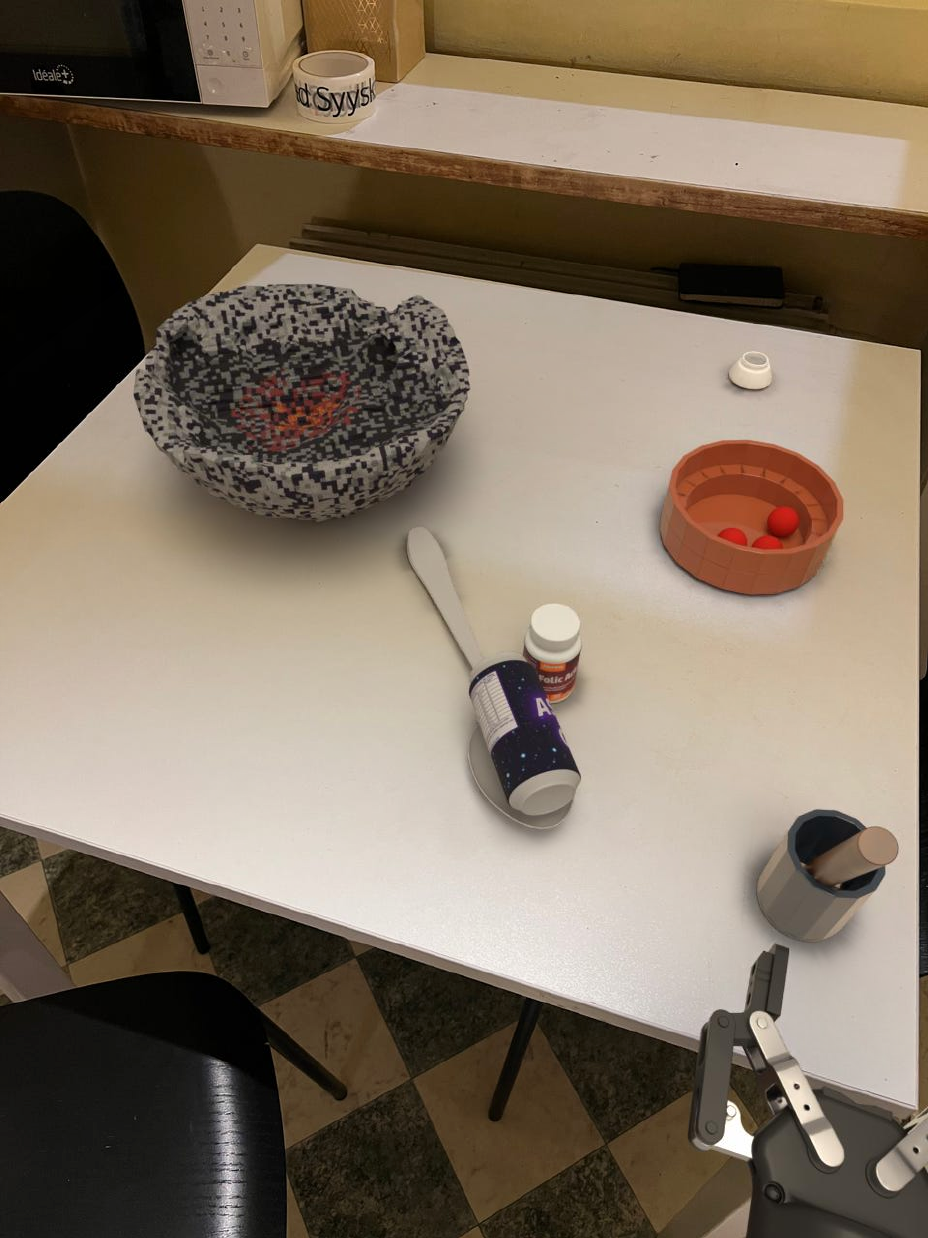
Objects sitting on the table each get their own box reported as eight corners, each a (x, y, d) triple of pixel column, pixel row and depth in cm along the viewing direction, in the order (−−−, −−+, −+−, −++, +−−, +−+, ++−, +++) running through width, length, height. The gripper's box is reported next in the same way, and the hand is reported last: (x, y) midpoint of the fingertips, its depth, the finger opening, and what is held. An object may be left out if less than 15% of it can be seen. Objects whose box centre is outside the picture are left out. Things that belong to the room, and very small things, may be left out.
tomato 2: (773, 564, 85) (787, 537, 84) (776, 575, 82) (791, 547, 81) (744, 554, 85) (757, 526, 84) (746, 564, 82) (760, 536, 81)
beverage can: (573, 768, 59) (518, 638, 67) (499, 803, 60) (453, 670, 68) (594, 797, 64) (540, 672, 71) (525, 829, 64) (479, 702, 72)
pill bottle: (536, 713, 73) (543, 652, 67) (511, 672, 76) (515, 610, 70) (584, 693, 75) (596, 632, 68) (558, 654, 77) (566, 592, 71)
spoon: (597, 827, 66) (601, 810, 64) (500, 858, 65) (502, 840, 63) (453, 538, 89) (453, 518, 87) (379, 554, 87) (377, 534, 85)
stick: (830, 878, 63) (914, 841, 45) (820, 904, 62) (901, 876, 44) (789, 859, 64) (855, 815, 46) (779, 885, 63) (842, 850, 45)
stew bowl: (824, 500, 91) (843, 455, 86) (822, 613, 81) (843, 569, 76) (669, 472, 93) (680, 427, 89) (648, 578, 83) (659, 533, 79)
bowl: (173, 608, 81) (125, 486, 69) (175, 409, 101) (138, 289, 89) (497, 559, 85) (503, 436, 74) (438, 377, 105) (435, 258, 93)
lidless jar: (753, 396, 102) (778, 381, 104) (759, 375, 100) (785, 359, 102) (719, 378, 105) (745, 362, 107) (725, 356, 102) (751, 341, 105)
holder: (844, 871, 64) (884, 821, 58) (844, 954, 60) (887, 910, 54) (759, 849, 65) (789, 798, 59) (753, 930, 61) (785, 884, 55)
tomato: (756, 545, 82) (728, 556, 82) (747, 556, 85) (719, 567, 85) (742, 518, 83) (714, 529, 83) (733, 530, 86) (706, 540, 85)
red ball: (768, 510, 84) (758, 534, 86) (797, 522, 83) (787, 546, 85) (778, 496, 86) (769, 520, 88) (807, 508, 85) (797, 532, 87)
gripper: (1070, 1462, 31) (1047, 1009, 40) (672, 1281, 34) (740, 903, 44) (974, 1443, 36) (974, 1051, 46) (642, 1290, 40) (708, 954, 49)
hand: (860, 980), depth 45 cm, fingers open, 8 cm apart
